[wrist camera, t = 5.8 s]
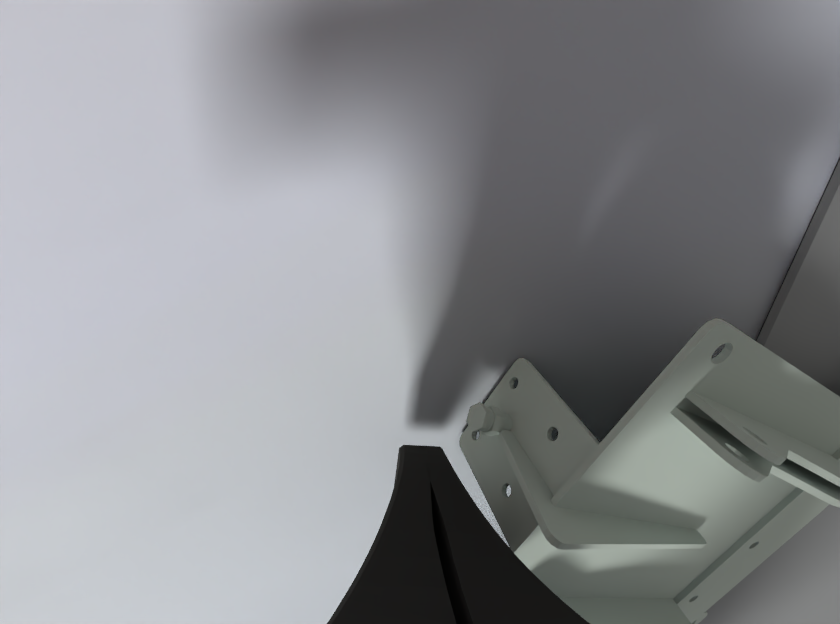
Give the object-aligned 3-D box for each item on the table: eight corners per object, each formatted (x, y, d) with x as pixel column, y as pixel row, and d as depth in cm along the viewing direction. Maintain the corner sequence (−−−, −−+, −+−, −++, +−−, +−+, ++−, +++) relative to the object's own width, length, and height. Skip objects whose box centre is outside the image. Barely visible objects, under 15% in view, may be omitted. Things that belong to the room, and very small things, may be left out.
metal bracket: (385, 779, 10) (907, 246, 6) (348, 551, 15) (620, 162, 11) (691, 710, 17) (1039, 439, 13) (598, 568, 22) (828, 335, 18)
